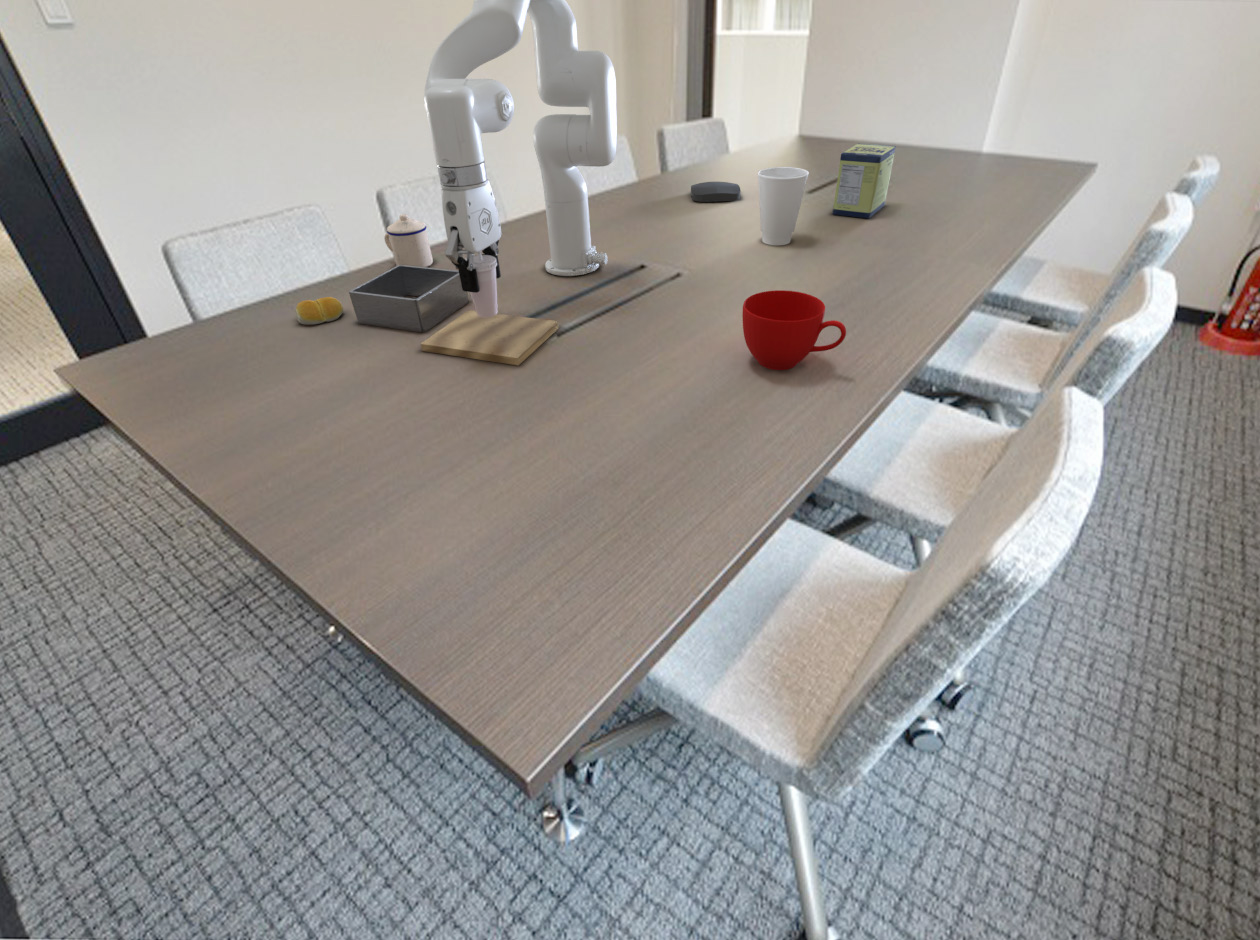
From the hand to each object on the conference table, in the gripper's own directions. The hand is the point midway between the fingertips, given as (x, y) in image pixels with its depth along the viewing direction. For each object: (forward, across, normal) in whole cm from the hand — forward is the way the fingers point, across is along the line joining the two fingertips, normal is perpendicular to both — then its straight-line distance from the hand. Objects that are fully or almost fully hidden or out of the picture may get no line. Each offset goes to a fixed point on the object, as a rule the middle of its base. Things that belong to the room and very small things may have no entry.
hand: (482, 283), depth 113 cm
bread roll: (+11, -1, +40) cm, 42 cm away
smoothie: (+6, 0, 0) cm, 6 cm away
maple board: (+11, 0, 0) cm, 11 cm away
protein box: (+11, +104, -57) cm, 119 cm away
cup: (+11, +71, -40) cm, 82 cm away
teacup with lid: (+11, +32, +42) cm, 54 cm away
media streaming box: (+11, +110, -14) cm, 111 cm away
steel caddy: (+11, +7, +22) cm, 26 cm away
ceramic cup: (+11, +6, -54) cm, 55 cm away
